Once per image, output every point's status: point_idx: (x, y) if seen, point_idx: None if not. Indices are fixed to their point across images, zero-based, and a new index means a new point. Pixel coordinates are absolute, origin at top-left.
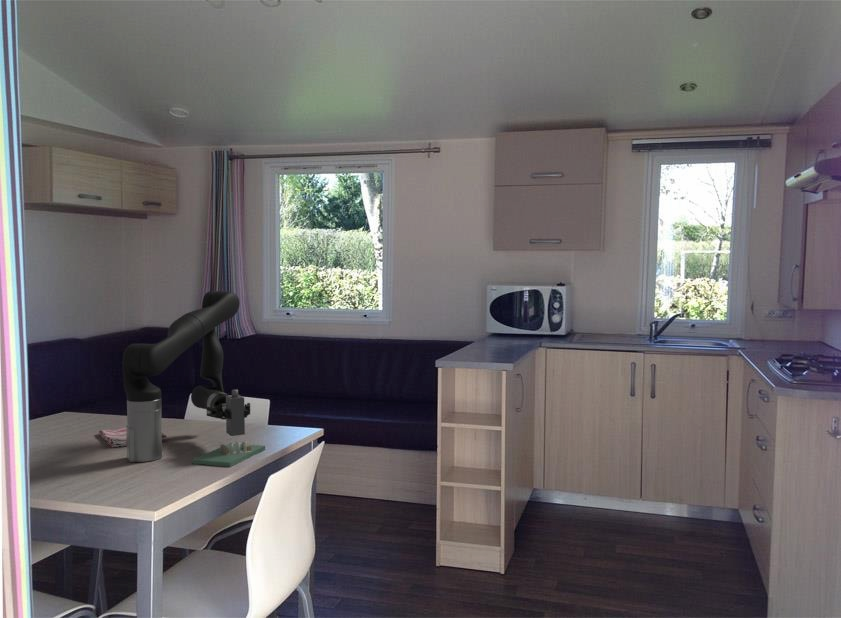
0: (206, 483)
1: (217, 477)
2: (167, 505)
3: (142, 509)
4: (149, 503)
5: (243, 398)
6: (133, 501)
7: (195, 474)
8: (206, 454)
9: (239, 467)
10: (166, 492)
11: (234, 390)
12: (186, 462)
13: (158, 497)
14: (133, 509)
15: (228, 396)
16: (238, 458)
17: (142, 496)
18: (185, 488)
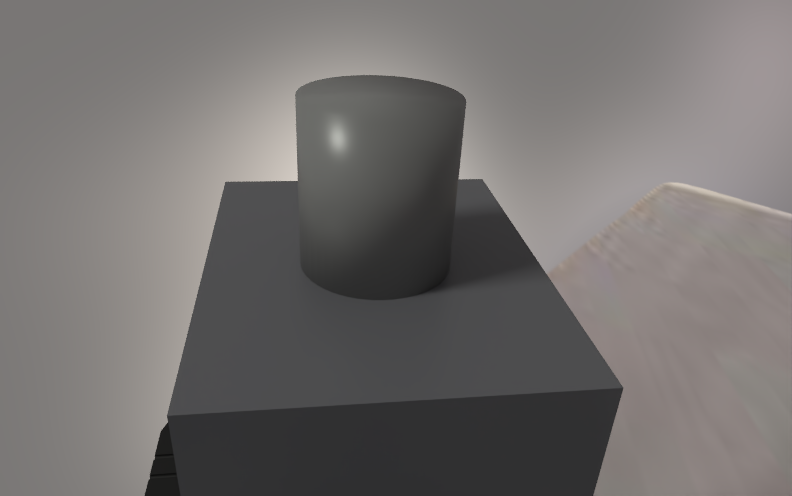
0: (561, 283)
1: None
2: (645, 196)
3: (705, 194)
4: (705, 214)
5: (241, 197)
6: (767, 233)
7: (639, 387)
8: None
9: None
10: (690, 258)
11: (398, 84)
12: None
13: (699, 236)
14: (731, 199)
15: (534, 335)
16: None
17: (761, 253)
18: (632, 267)
